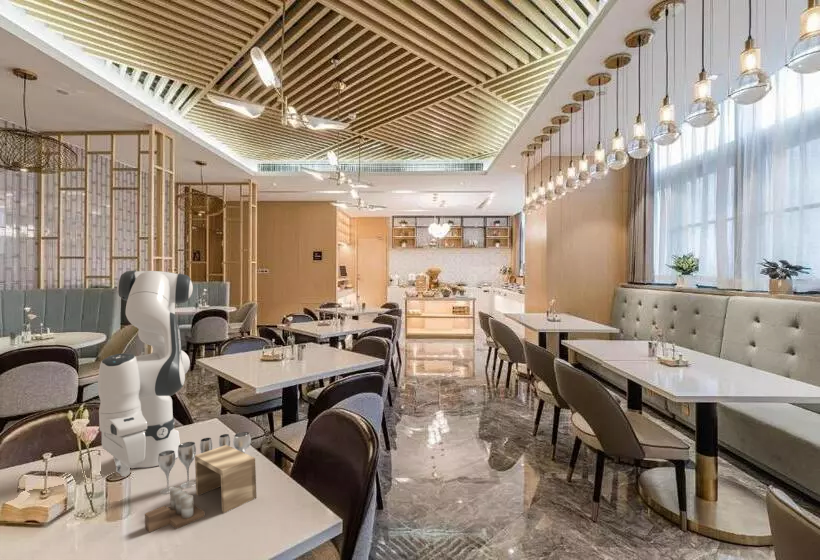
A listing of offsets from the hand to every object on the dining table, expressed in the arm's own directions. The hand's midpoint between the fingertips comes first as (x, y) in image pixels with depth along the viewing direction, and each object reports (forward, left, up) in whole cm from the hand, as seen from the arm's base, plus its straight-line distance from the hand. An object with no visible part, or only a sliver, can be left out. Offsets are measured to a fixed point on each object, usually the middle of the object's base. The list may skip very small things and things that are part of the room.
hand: (123, 473), depth 109 cm
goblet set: (-16, +29, -17) cm, 37 cm away
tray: (0, +11, -17) cm, 21 cm away
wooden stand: (0, +26, -17) cm, 32 cm away
